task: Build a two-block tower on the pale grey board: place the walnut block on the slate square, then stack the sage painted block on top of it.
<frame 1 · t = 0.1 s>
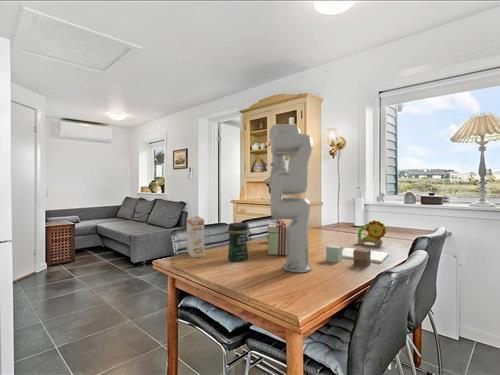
hand: (278, 194, 173), 31 cm above the table, tool pointing down, fingers open, 9 cm apart
walnut block: (362, 264, 134), on the table
gift box: (283, 252, 160), on the table
sage block: (334, 260, 141), on the table
coffee jar: (238, 260, 144), on the table
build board: (362, 256, 149), on the table
coffeecake box: (195, 254, 156), on the table
toy lion: (371, 245, 175), on the table
dumbbell: (279, 244, 180), on the table
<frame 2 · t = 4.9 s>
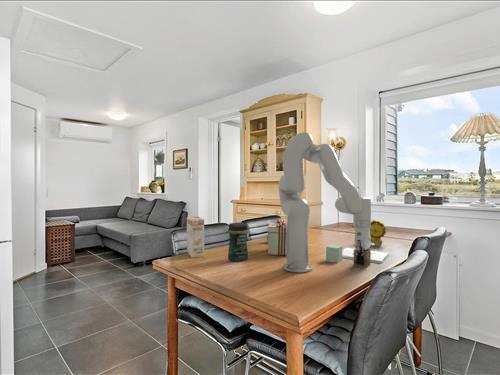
hand: (362, 262, 134), 1 cm above the table, tool pointing down, fingers closed on walnut block, 6 cm apart
walnut block: (362, 264, 134), on the table, touching gripper
everything else where it was.
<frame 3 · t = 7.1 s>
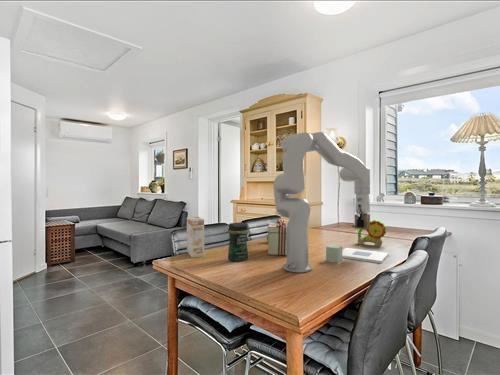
hand: (362, 225, 149), 16 cm above the table, tool pointing down, fingers closed on walnut block, 6 cm apart
walnut block: (362, 228, 149), point 14 cm above the table, touching gripper
everything else where it was.
when the fingers open (4 cm above the table, at t = 9.7 s): walnut block drops 1 cm, resting on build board.
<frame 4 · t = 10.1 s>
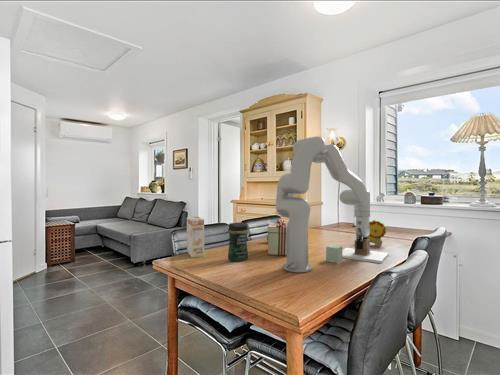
hand: (362, 247, 149), 5 cm above the table, tool pointing down, fingers open, 9 cm apart
walnut block: (362, 253, 149), point 1 cm above the table, touching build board
everything else where it was.
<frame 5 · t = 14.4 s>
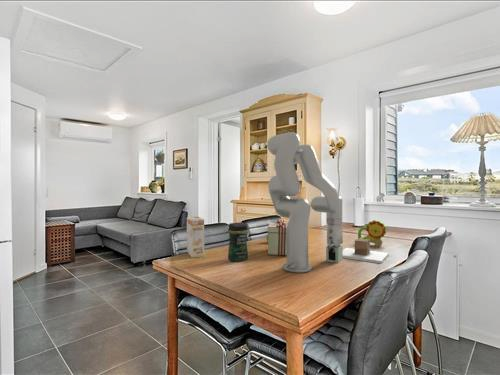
hand: (334, 258, 141), 1 cm above the table, tool pointing down, fingers closed on sage block, 6 cm apart
sage block: (334, 260, 141), on the table, touching gripper
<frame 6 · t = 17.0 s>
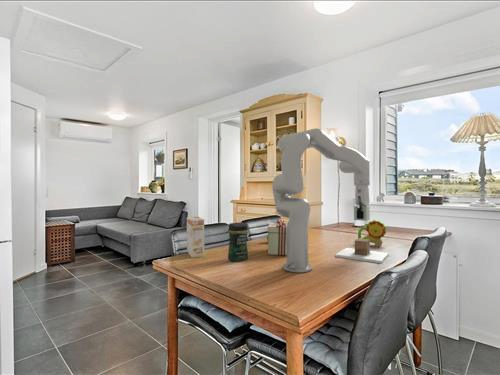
hand: (361, 217, 149), 20 cm above the table, tool pointing down, fingers closed on sage block, 6 cm apart
sage block: (361, 219, 149), point 19 cm above the table, touching gripper
everything else where it was.
when the fingers open (11 cm above the table, at t = 19.6 s): sage block drops 1 cm, resting on walnut block.
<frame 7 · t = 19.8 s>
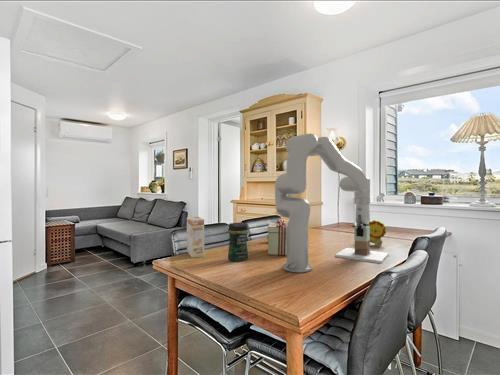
hand: (362, 234, 149), 11 cm above the table, tool pointing down, fingers open, 8 cm apart
walnut block: (362, 253, 149), point 1 cm above the table, touching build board, sage block
sage block: (362, 240, 149), point 8 cm above the table, touching walnut block
everything else where it was.
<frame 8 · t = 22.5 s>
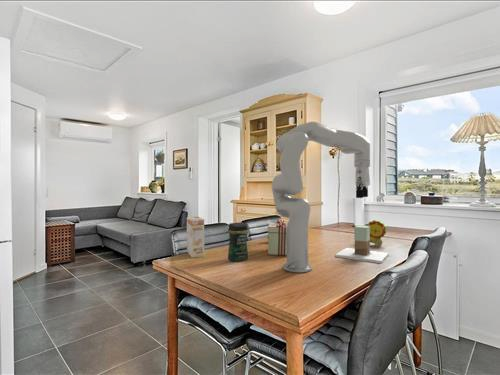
hand: (362, 197, 148), 30 cm above the table, tool pointing down, fingers open, 9 cm apart
nothing on the table moved.
at the end: walnut block inside the target area on the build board (0.0 cm from its centre), point 1.3 cm above the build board's base; sage block 0.1 cm off-centre on the walnut block, point 7.0 cm above the walnut block's base; sage block tilted 0° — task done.
